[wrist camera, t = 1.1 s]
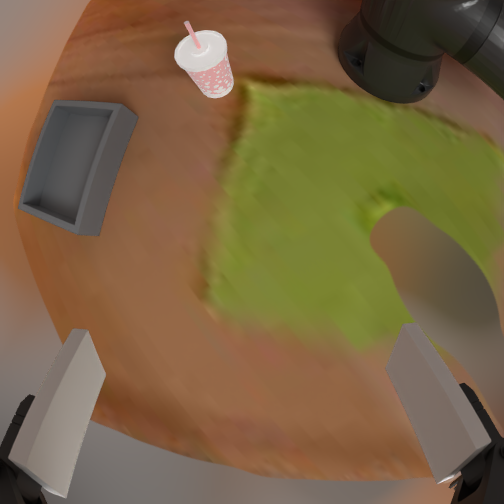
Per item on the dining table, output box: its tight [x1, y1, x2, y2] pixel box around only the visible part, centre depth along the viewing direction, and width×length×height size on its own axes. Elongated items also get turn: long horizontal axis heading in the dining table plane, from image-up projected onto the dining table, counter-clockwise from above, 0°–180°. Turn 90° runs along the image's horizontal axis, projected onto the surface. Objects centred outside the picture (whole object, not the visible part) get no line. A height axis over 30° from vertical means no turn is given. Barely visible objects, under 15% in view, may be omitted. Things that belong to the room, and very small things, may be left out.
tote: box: [18, 100, 138, 236], centre depth 37 cm, size 18×15×5 cm
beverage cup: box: [174, 21, 233, 98], centre depth 29 cm, size 6×6×14 cm
